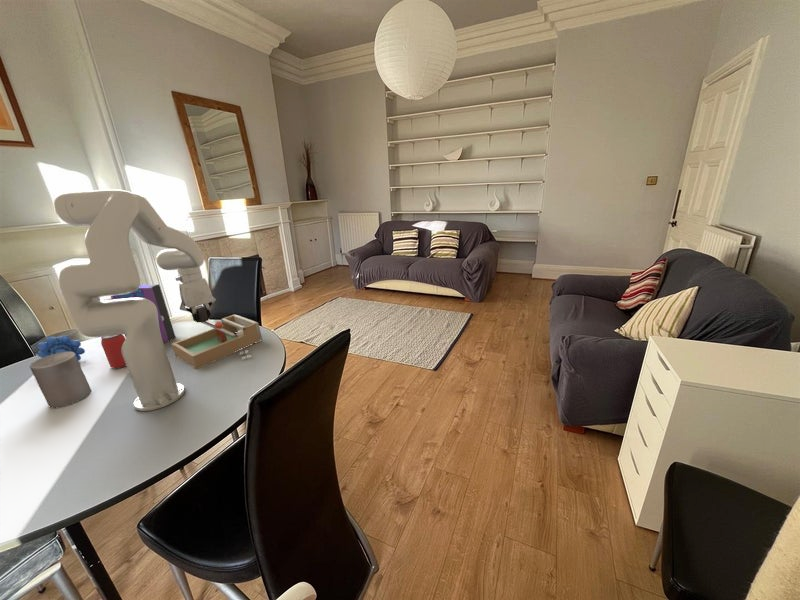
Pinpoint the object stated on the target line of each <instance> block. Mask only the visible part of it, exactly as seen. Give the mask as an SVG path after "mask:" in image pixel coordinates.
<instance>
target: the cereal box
mask: <svg viewBox="0 0 800 600" xmlns="http://www.w3.org/2000/svg"><path fill="white" fill-rule="evenodd" d="M110 298H111V300H115V299H125V298H145V299H148V300H150V301H152V302H153V303H154V304H155V306H156V308H157V312H158V322H159V329H160V333H161V337H162V340H163V343H169V342H170V340H171V339H172V340H174V339H175V338H176V334H175V331H174V328H173V325H172V322H171V318H170V315H169V312H168V309H167V305H166V302H165V299H164V296H163V292H162V289H161V286H160V284H140V287H139V288H138V290H136V291H135V292H132V293H128V294H123V295H114V296H110ZM124 337H125V338H126V335H125V334H124ZM174 337H175V338H174ZM173 338H174V339H173ZM172 340H171V341H172ZM168 341H169V342H168Z"/></svg>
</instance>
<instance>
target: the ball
mask: <svg viewBox="0 0 800 600" xmlns="http://www.w3.org/2000/svg"><path fill="white" fill-rule="evenodd" d="M242 335H244V332H243V330H239V331H238V332H237V333H236V336H235V337H239V336H242Z"/></svg>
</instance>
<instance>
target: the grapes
mask: <svg viewBox="0 0 800 600" xmlns="http://www.w3.org/2000/svg"><path fill="white" fill-rule="evenodd" d="M81 345H82V342H81V341H79V340H77V339H72V340H71V338H70V337H69V336H67V335H61V336H59V337H58V338H57V337H55V336H49V337H48V336H47V338H45V342H44V341H43V342H39V343H38V344H37V346H36V347H37V348H38V350H40V351H37V357H39V358H40V359H41V358H43V357H46V356H49V355H52V354H56V353H61V352H74V353H75V355H76V357H77V360H78V362H80V360H82V356H81V355H83V354H85V352H86V350H85V349H84V348H83V347H81Z"/></svg>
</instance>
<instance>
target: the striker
mask: <svg viewBox="0 0 800 600" xmlns="http://www.w3.org/2000/svg"><path fill="white" fill-rule="evenodd" d="M195 309H196V313H198V316H199V320H200V322H199V323H201V324H203V325H206V326H207V327H210V328H211V329H215V331H216V334H217V338H218V341H220V342H225V341H227V338H226V334H228V335H230V336H232V337H237V336H236V334H237V333H236V334H234V333H232V332H229V331H227V330H225V329H223V328H221V327H222V326H223V325H222V322H221V321H217V322H215V323H214V324H213V323H210V322H208V321H209V320H210V319H208V316H207V312H206V308H205V306H203V304H202V305H199V306H196V307H195ZM225 333H226V334H225Z"/></svg>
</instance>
